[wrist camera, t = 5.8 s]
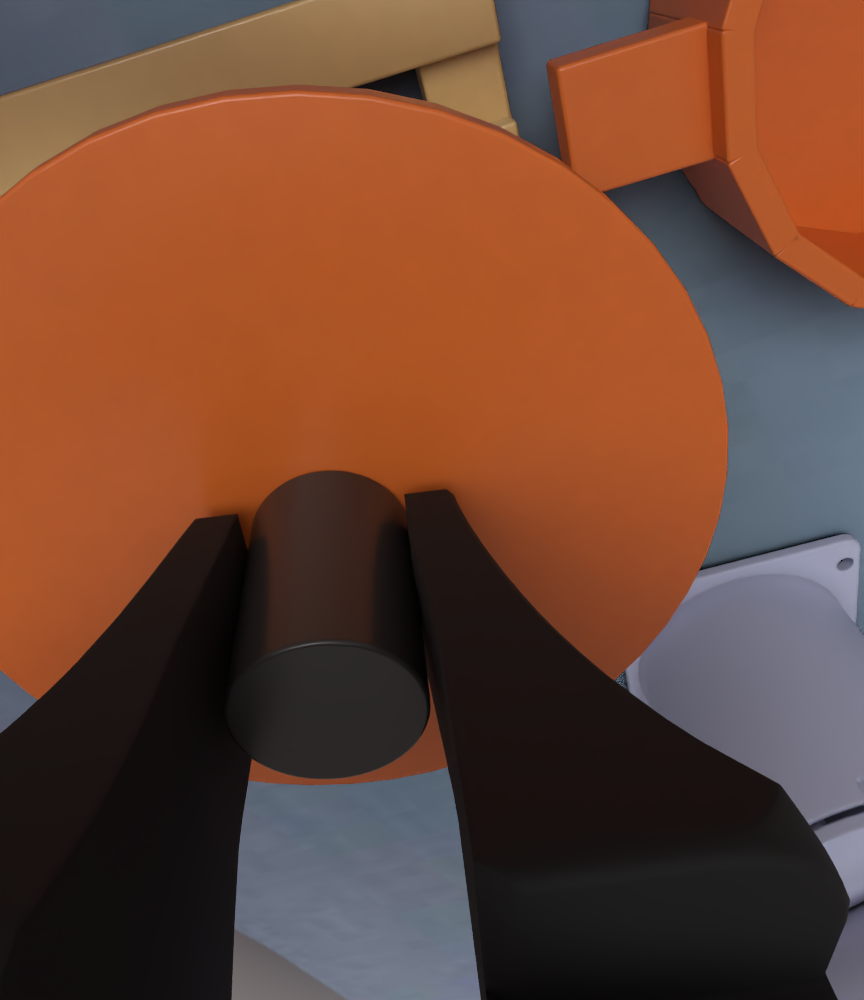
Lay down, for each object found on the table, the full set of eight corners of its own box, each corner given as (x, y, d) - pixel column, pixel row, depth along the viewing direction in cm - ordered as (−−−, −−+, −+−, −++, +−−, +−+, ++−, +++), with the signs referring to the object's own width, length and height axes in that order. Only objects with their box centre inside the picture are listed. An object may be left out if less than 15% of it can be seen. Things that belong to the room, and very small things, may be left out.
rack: (575, 497, 25) (597, 550, 22) (170, 604, 26) (155, 665, 23) (457, -102, 16) (474, -107, 14) (-146, 95, 17) (-215, 118, 15)
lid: (722, 655, 16) (836, 872, 13) (150, 795, 17) (96, 1036, 13) (670, -60, 9) (889, -57, 6) (-287, 239, 10) (-655, 415, 6)
